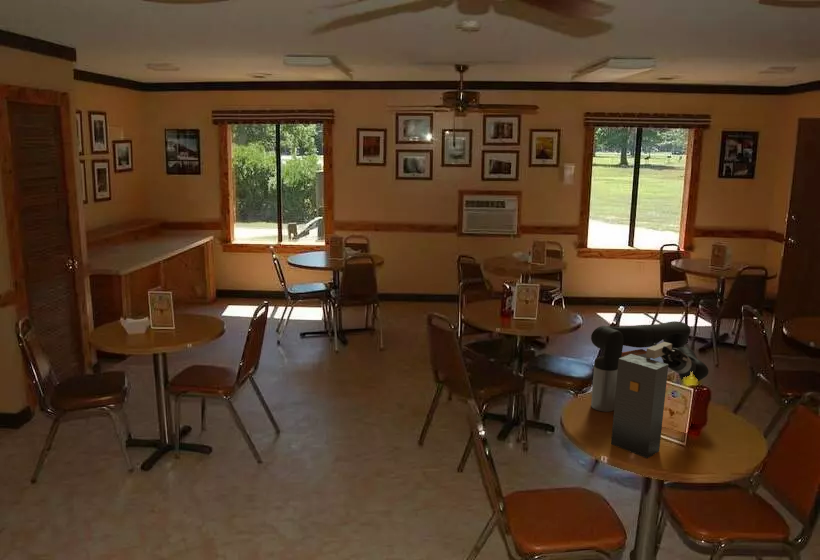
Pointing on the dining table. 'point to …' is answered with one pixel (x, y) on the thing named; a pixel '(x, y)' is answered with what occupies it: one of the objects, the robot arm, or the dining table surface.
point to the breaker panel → (639, 405)
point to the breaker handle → (657, 350)
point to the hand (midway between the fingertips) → (658, 347)
